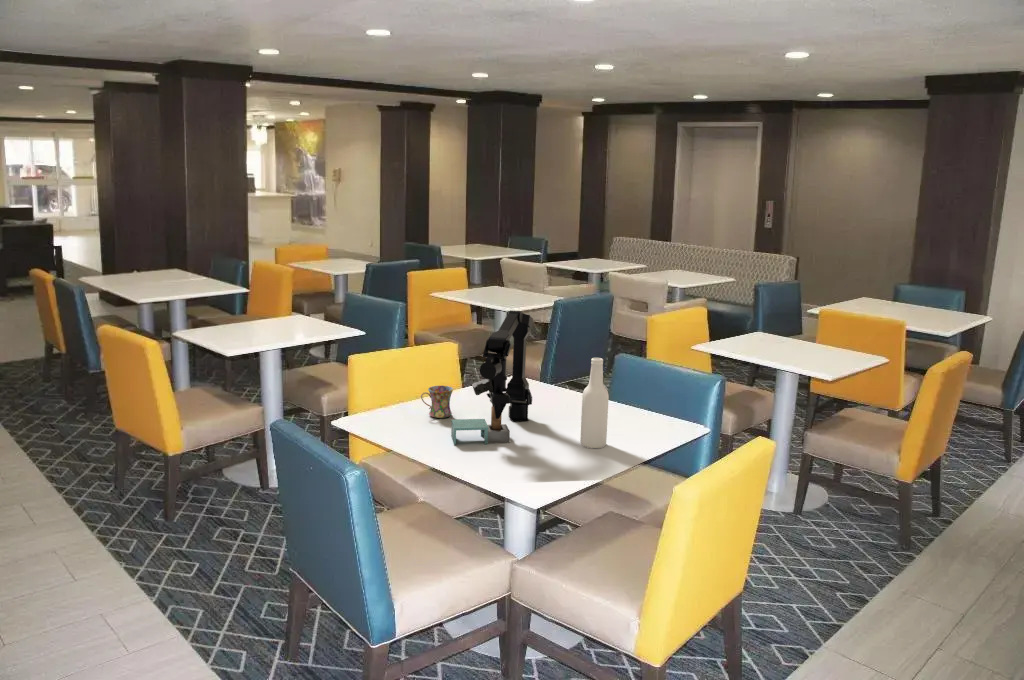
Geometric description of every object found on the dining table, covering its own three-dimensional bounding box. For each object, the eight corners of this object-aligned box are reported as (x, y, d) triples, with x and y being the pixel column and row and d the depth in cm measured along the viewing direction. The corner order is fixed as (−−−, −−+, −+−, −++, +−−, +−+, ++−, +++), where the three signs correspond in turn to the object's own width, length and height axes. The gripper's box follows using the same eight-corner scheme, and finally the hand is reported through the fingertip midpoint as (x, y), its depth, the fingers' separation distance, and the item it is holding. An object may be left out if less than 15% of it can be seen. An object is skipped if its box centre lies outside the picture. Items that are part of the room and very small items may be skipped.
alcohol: (609, 448, 279) (613, 361, 273) (583, 449, 277) (587, 361, 271) (602, 440, 287) (606, 355, 281) (577, 441, 286) (581, 355, 280)
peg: (500, 428, 287) (500, 405, 285) (501, 431, 284) (502, 408, 282) (490, 428, 286) (490, 405, 285) (491, 431, 283) (492, 408, 281)
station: (505, 434, 291) (505, 418, 289) (510, 443, 281) (510, 426, 280) (451, 436, 287) (451, 419, 286) (454, 445, 278) (454, 428, 277)
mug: (450, 412, 316) (451, 385, 314) (454, 419, 308) (455, 391, 305) (419, 413, 314) (419, 386, 311) (422, 420, 305) (422, 392, 303)
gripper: (470, 366, 289) (469, 409, 292) (477, 379, 271) (476, 425, 274) (502, 366, 291) (501, 409, 294) (511, 379, 273) (510, 424, 276)
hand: (496, 417), depth 284 cm, fingers closed on peg, 3 cm apart
